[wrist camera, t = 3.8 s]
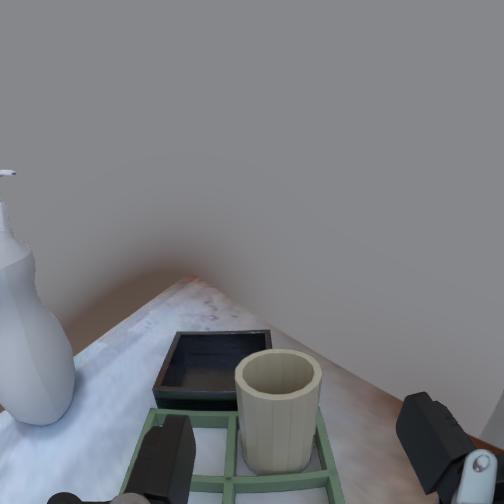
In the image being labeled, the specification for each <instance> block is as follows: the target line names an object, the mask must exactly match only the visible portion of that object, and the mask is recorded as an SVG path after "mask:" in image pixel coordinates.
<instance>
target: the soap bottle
mask: <svg viewBox="0 0 504 504" xmlns="http://www.w3.org/2000/svg"><path fill="white" fill-rule="evenodd" d="M4 175H16V172H15V171H12V170H0V177H2V176H4ZM34 279H35V259H34V256H33V253H32V250H31V249H30V248H29V247H28V246H27V245H25V244H24V243H23V242H22V241H20V240H19V239H17V238H16V237H15V236H14V234H13V232H12V230H11V229H10V226H9V218H8V210H7V202H2V203H1V200H0V404H1V405H2V406H3V407H4V408H5V409H6V410H7V412H8V413H9V414H10V415H11V416H12V417H13V418H14V419H15V420H17V421H19V422H24V423H28V424H33V425H38V426H42V425H49V424H52V423H54V422H56V421H57V420H59V419H60V418H61V417H62V416H63V414H64V413H65V412H66V410H67V409H68V407H69V406H70V403H71V401H72V397H73V389H74V382H75V368H74V361H73V354H72V346H71V345H70V343H69V341H68V339H67V337H66V335H65V333H64V331H63V329H62V327H61V325H60V323H59V321H58V320H57V319H56V318H55V317H54V316H53V314H52V313H51V312H50V311H49V310H48V309H47V308H46V306H45V305H44V304H43V303H42V301H41V300H40V298H39V296H38V295H37V291H36V288H35V283H34Z"/></svg>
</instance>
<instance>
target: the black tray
mask: <svg viewBox="0 0 504 504" xmlns="http://www.w3.org/2000/svg"><path fill="white" fill-rule="evenodd" d="M268 349H272V342H271V334H270V330H248V331H212V332H177V333H176V335H175V337H174V339H173V342H172V344H171V346H170V349H169V351H168V353H167V356H166V358H165V360H164V363H163V365H162V367H161V370H160V372H159V374H158V377H157V379H156V382H155V384H154V386H153V389H152V391H153V394H154V397H155V401H156V404H157V407H158V409H169V410H186V411H238V405H237V395H236V386H235V369H236V367H237V366H238V365H239V363H240V362H241V361H242V360H243V359H244V358H246V357H248V356H250V355H251V354H253V353H256V352H260V351H264V350H268Z"/></svg>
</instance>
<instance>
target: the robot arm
mask: <svg viewBox="0 0 504 504" xmlns="http://www.w3.org/2000/svg"><path fill="white" fill-rule="evenodd" d="M396 433H397V436H398V438H399V440H400V442H401V444H402V446H403V448H404V450H405V452H406V454H407V456H408V458H409V460H410V462H411V464H412V466H413V469H414V471H415V473H416V475H417V477H418V479H419V481H420V483H421V485H422V487H423V489H424V492H425V494H426V495H428V494H430V493H433V492H435V491H437V493H438V496H437V498H436V500H435V503H434V504H504V453H503V454H498V455H494V454H493V453H491V452H490V451H488V450H484V449H478V450H477V449H476V447H475V446H474V445H473V443H472V442H471V440H470V439H469V438H468V436H467V435H466V433H465V432H464V431H463V429H462V428H461V426H460V425H459V424H458V422H457V421H456V420H455V418H454V417H453V416H452V414H451V413H450V411H449V410H448V409H447V407H446V406H444V405H443V404H441V403H440V402H438V401H432V399H431V398H430V396H429V395H428V394H427V393H426V392H420V393H416V394H412V395H408V396H407V397H405V399H404V402H403V405H402V408H401V411H400V414H399V417H398V419H397V422H396ZM195 455H196V443H195V438H194V434H193V430H192V426H191V422H190V418H189V416H188V415H180V414H167V415H166V417H165V420H164V423H163V426H162V427H160V426H153V427H152V428H151V429H150V430H149V431H148V432H147V433H146V434H145V435H144V438H143V440H142V443H141V448H140V449H139V451H138V454H137V457H136V460H135V463H134V466H133V468H132V471H131V474H130V477H129V480H128V483H127V486H126V488H125V490H124V492H123V493H122V494H120V495H118V496H116V497H115V498H113V499H112V500H111V501H106V502H83V501H81V500H80V499H79V498H78V497H77V496H76V495H74V494H71V493H68V492H61V493H57V494H55V495H53V496H52V497H51V498H50V499H49V500H48V502H47V504H187V503H188V497H189V491H190V485H191V479H192V473H193V467H194V461H195Z"/></svg>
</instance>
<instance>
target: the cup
mask: <svg viewBox="0 0 504 504" xmlns="http://www.w3.org/2000/svg"><path fill="white" fill-rule="evenodd" d="M321 382H322V370H321V368H320V365H319V363H318V362H317V361H316V360H315V359H314V358H312V357H311V356H310V355H307V354H305V353H302V352H300V351H297V350H290V349H268V350H264V351H260V352H256V353H253V354H251V355H250V356H248V357H246V358H244V359H243V360H242V361H241V362H240V363H239V365H238V366H237V367H236V369H235V386H236V395H237V405H238V414H239V423H240V432H241V441H242V449H243V457H244V460H245V463H246V465H247V466H248V467H249V469H250V470H252V471H253V472H254V473H256V474H257V475H260V476H271V475H285V474H296V473H299V472H301V471H302V470H303V469H304V468H305V467H306V466H307V465H308V463H309V461H310V459H311V454H312V451H313V444H314V437H315V431H316V423H317V416H318V408H319V400H320V391H321Z"/></svg>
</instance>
